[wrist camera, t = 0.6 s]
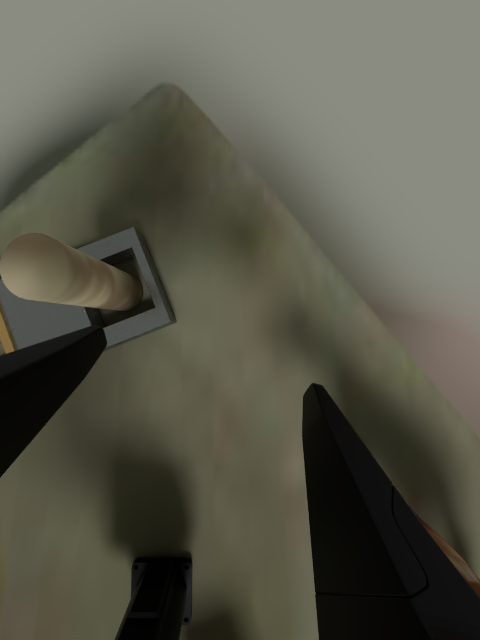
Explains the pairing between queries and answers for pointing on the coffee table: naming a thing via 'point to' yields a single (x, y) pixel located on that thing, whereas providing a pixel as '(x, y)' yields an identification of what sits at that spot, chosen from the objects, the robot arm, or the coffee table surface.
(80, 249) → the board with square holes
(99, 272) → the peg
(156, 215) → the coffee table surface
